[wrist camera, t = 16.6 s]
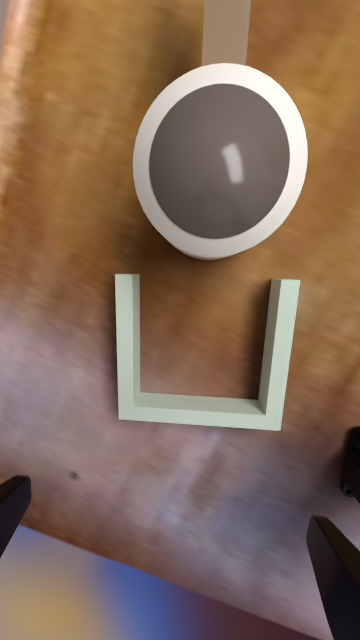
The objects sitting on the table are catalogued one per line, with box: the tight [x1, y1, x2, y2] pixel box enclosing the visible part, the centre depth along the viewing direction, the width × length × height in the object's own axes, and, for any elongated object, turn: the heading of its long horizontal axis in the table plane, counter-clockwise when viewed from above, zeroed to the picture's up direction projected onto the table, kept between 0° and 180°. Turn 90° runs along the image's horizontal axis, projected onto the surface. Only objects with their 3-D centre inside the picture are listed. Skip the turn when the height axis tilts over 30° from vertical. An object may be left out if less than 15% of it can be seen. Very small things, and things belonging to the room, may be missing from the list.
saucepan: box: [133, 0, 308, 260], centre depth 13 cm, size 16×8×6 cm, turn 178°
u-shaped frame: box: [115, 274, 300, 431], centre depth 18 cm, size 12×11×2 cm
